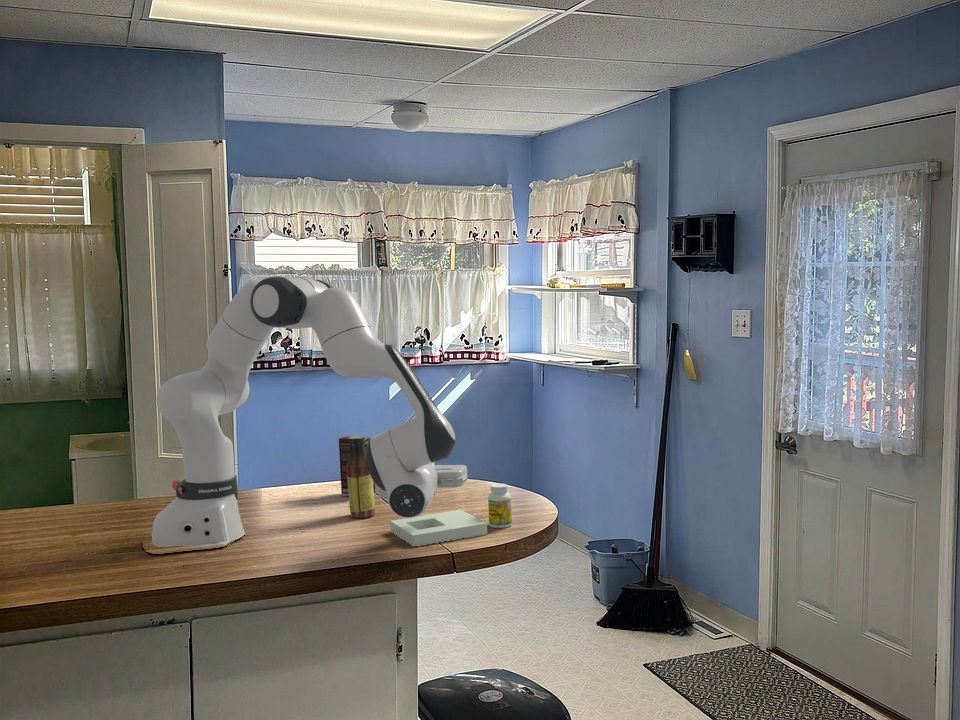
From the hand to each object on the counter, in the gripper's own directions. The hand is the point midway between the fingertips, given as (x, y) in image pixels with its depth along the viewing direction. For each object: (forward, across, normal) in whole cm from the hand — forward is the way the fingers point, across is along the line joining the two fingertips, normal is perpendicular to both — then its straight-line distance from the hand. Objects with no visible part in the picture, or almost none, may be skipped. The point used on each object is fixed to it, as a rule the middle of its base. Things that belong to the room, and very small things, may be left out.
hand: (424, 468), depth 209 cm
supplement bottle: (+6, -16, +16) cm, 23 cm away
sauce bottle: (+16, +18, +15) cm, 29 cm away
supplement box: (+37, +23, +15) cm, 46 cm away
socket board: (+1, -2, +15) cm, 15 cm away
